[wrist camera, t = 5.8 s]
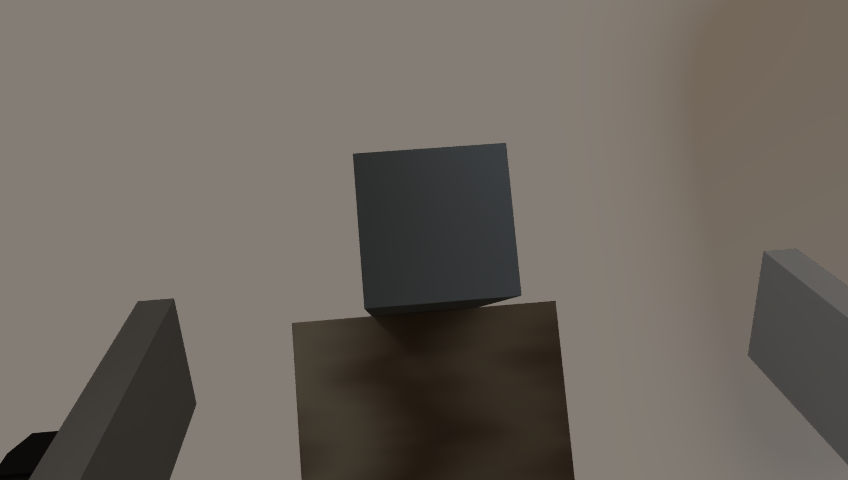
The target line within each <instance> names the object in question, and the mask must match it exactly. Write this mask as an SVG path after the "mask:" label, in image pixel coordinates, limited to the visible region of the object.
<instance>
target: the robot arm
mask: <svg viewBox="0 0 848 480" xmlns="http://www.w3.org/2000/svg"><path fill="white" fill-rule="evenodd" d="M748 356H749V357H750V358H751V359H752V361H753V362H754V363H755V364H756V365H757V366H758V367H759V368H760V369H761V370H762V371H763V373H764V374H765V375H766V376H767V377H768V378H769V379H770V380H771V381H772V382H773V383H774V385H775V386H776V387H777V388H778V389H779V390H780V391H781V392H782V393H783V394H784V396H785V397H786V398H787V399H788V400H789V401H790V402H791V403H792V404H793V405H794V406H795V408H796V409H797V410H798V411H799V412H800V413H801V414H802V415H803V416H804V417H805V418H806V419H807V420H808V422H809V423H810V424H811V425H812V426H813V427H814V428H815V429H816V430H817V432H818V433H819V434H820V435H821V436H822V437H823V438H824V439H825V440H826V441H827V443H828V444H829V445H830V446H831V447H832V448H833V449H834V450H835V451H836V452H837V454H839V456H840V457H841V458H842V459H843V460H844V461H845V462H846V463H847V464H848V286H847V285H846V284H844V283H843V282H842V281H840V280H839V279H837V278H836V277H835V276H834V275H832V274H831V273H829V272H828V271H826V270H825V269H824V268H823V267H821V266H820V265H818V264H817V263H816V262H814V261H813V260H812V259H810V258H809V257H807V256H806V255H804V254H803V253H802V252H800V251H799V250H798V249H785V250H772V251H764V252H763V258H762V266H761V272H760V278H759V285H758V292H757V299H756V306H755V312H754V318H753V325H752V332H751V339H750V345H749V351H748ZM195 406H196V400H195V395H194V390H193V386H192V381H191V376H190V371H189V367H188V362H187V357H186V353H185V348H184V343H183V339H182V334H181V330H180V324H179V320H178V315H177V310H176V306H175V301H174V299H161V300H149V301H138V302H137V304H136V305H135V307H134V309H133V310H132V312H131V314H130V315H129V317H128V318H127V320H126V322H125V323H124V325H123V327H122V328H121V330H120V332H119V333H118V335H117V336H116V338H115V340H114V341H113V343H112V345H111V346H110V348H109V350H108V351H107V353H106V354H105V356H104V358H103V359H102V361H101V363H100V364H99V366H98V367H97V369H96V371H95V372H94V374H93V376H92V377H91V379H90V380H89V382H88V384H87V385H86V387H85V389H84V390H83V392H82V394H81V395H80V397H79V398H78V400H77V402H76V403H75V405H74V407H73V408H72V410H71V412H70V413H69V415H68V416H67V418H66V420H65V421H64V423H63V425H62V426H61V428H60V429H59V431H53V432H41V433H32V434H31V435H30V436H29V437H27V438H26V439H25V440H24V441H22V442H21V443H20V444H19V445H17V446H16V447H15V448H14V449H12V450H11V451H10V452H9V453H7V455H6V456H5V458H4V459H3V461H2V462H1V463H0V480H170V477H171V474H172V471H173V469H174V466H175V463H176V460H177V457H178V454H179V451H180V449H181V446H182V443H183V440H184V437H185V435H186V432H187V429H188V426H189V423H190V421H191V418H192V415H193V412H194V409H195Z"/></svg>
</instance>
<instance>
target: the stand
mask: <svg viewBox="0 0 848 480" xmlns="http://www.w3.org/2000/svg"><path fill="white" fill-rule="evenodd" d="M292 331H293V348H294V363H295V379H296V396H297V412H298V429H299V445H300V460H301V476H302V480H575V479H574V471H573V470H574V469H573V460H572V451H571V441H570V433H569V423H568V413H567V405H566V395H565V385H564V376H563V367H562V358H561V348H560V339H559V329H558V320H557V312H556V301H550V302H537V303H525V304H513V305H501V306H489V307H477V308H465V309H454V310H442V311H430V312H418V313H406V314H394V315H382V316H370V317H359V318H347V319H335V320H323V321H311V322H300V323H292Z"/></svg>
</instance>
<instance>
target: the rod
mask: <svg viewBox="0 0 848 480" xmlns="http://www.w3.org/2000/svg"><path fill="white" fill-rule="evenodd" d="M353 161H354V174H355V188H356V201H357V215H358V228H359V241H360V255H361V267H362V282H363V294H364V308H365V310H366V311H367V312H368V313H369V314H370V315H371V316H382V315H394V314H406V313H418V312H430V311H442V310H454V309H465V308H477V307H481V306H484V305H488V304H492V303H496V302H500V301H503V300H507V299H510V298H514V297H518V296H521V286H520V276H519V267H518V257H517V247H516V238H515V228H514V217H513V209H512V198H511V188H510V178H509V170H508V169H509V168H508V159H507V148H506V143H499V144H484V145H470V146H456V147H442V148H428V149H413V150H399V151H385V152H372V153H357V154H353Z"/></svg>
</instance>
